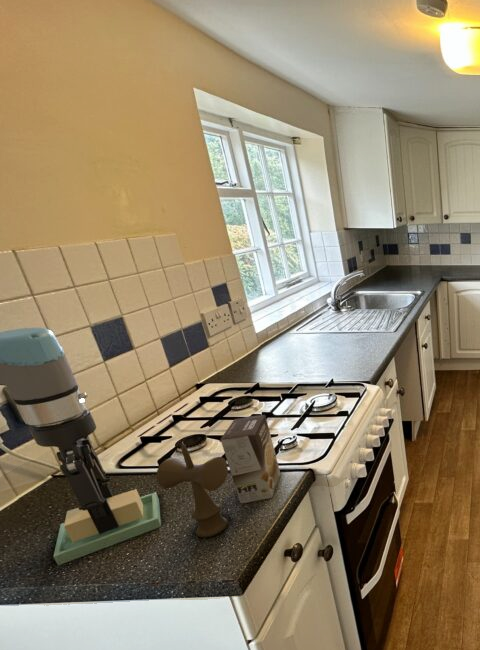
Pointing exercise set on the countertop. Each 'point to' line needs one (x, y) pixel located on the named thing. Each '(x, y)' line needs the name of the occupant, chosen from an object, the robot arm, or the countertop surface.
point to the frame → (108, 533)
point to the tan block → (122, 507)
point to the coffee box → (251, 458)
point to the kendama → (198, 488)
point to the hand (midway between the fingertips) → (109, 521)
